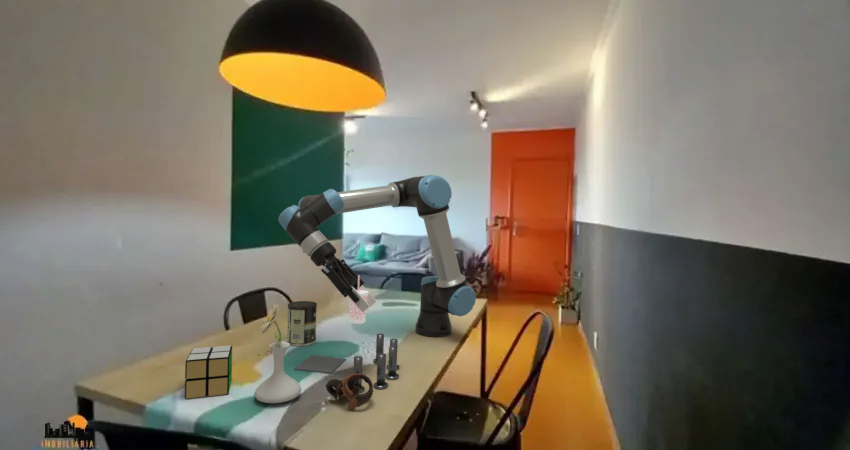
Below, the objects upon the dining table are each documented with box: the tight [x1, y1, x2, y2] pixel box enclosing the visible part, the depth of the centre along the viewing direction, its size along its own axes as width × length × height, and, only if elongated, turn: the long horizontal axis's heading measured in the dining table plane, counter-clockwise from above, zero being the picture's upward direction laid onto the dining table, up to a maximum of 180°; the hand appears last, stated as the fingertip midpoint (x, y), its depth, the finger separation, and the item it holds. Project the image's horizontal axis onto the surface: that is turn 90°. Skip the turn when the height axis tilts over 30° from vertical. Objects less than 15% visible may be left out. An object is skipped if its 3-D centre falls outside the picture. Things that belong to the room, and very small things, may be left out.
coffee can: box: [286, 300, 318, 347], centre depth 152 cm, size 10×10×14 cm
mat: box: [294, 354, 347, 375], centre depth 131 cm, size 12×12×1 cm
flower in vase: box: [253, 304, 302, 404], centre depth 106 cm, size 13×11×25 cm
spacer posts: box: [352, 333, 400, 394], centre depth 123 cm, size 26×11×9 cm, turn 170°
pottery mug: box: [325, 373, 374, 411], centre depth 105 cm, size 12×10×8 cm
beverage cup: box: [348, 274, 370, 325], centre depth 124 cm, size 6×6×14 cm
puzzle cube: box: [184, 345, 233, 400], centre depth 110 cm, size 10×10×10 cm
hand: (369, 306), depth 123 cm, fingers closed on beverage cup, 6 cm apart
